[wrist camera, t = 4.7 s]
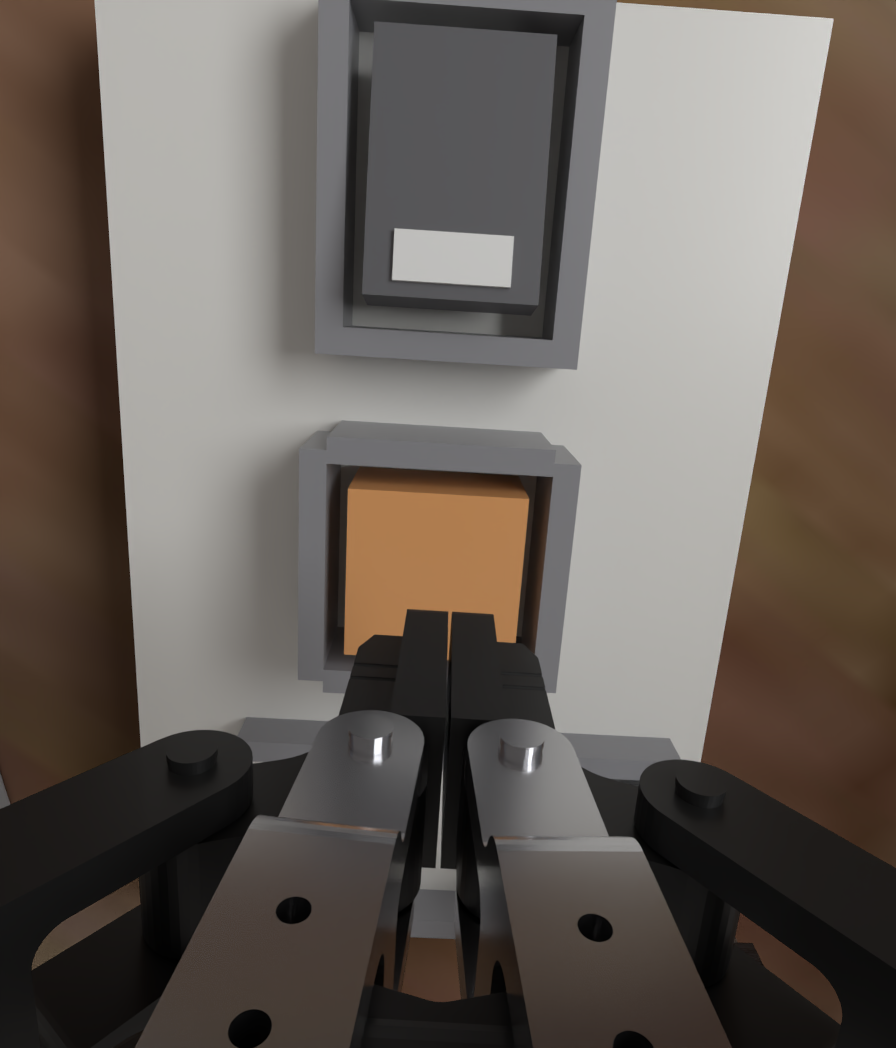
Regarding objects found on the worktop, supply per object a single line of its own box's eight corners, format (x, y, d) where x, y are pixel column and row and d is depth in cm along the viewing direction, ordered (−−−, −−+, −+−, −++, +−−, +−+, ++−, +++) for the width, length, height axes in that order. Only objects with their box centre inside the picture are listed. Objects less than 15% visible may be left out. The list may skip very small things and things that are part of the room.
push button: (518, 476, 19) (529, 499, 16) (505, 622, 20) (513, 663, 17) (359, 466, 18) (347, 488, 16) (355, 614, 20) (343, 654, 17)
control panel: (773, 63, 19) (902, -34, 14) (643, 869, 26) (695, 1013, 21) (147, 17, 19) (28, -100, 13) (184, 848, 25) (116, 989, 20)
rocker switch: (548, 66, 16) (558, 32, 14) (530, 315, 16) (538, 304, 15) (379, 53, 16) (373, 18, 14) (367, 305, 16) (361, 292, 15)
